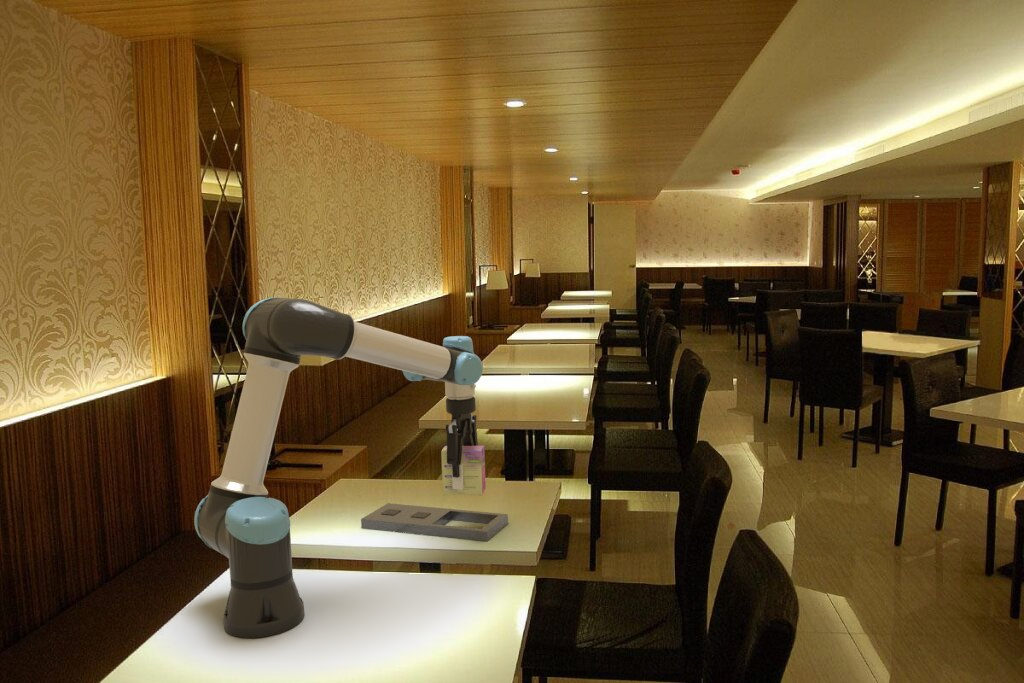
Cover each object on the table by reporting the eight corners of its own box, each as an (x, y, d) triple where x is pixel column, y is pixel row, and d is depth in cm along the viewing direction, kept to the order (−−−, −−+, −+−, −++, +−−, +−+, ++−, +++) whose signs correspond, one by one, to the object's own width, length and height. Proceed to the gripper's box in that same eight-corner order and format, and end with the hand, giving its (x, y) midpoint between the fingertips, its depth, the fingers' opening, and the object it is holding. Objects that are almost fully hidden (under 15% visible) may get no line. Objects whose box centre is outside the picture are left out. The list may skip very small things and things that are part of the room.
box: (486, 489, 208) (484, 444, 207) (483, 495, 203) (481, 450, 201) (446, 489, 209) (444, 445, 208) (442, 495, 204) (440, 450, 202)
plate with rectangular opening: (487, 541, 197) (486, 531, 197) (361, 528, 210) (361, 518, 210) (508, 523, 210) (507, 513, 210) (388, 511, 223) (388, 502, 223)
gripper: (457, 404, 193) (461, 497, 195) (489, 390, 211) (492, 475, 213) (429, 403, 196) (434, 494, 198) (463, 390, 214) (466, 473, 216)
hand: (464, 484), depth 206 cm, fingers closed on box, 7 cm apart
